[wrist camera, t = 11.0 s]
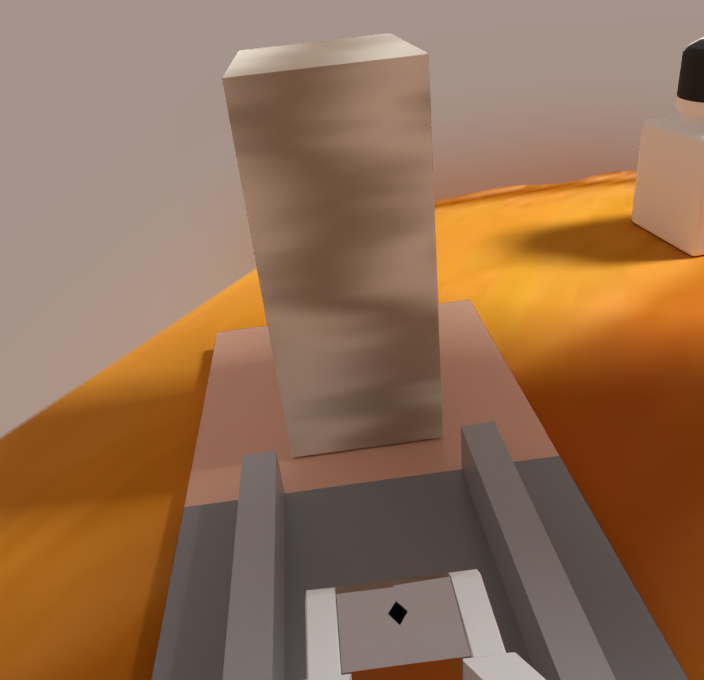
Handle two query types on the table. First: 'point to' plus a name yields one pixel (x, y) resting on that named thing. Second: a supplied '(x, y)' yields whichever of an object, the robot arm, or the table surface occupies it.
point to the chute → (392, 526)
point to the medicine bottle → (675, 164)
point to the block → (343, 235)
